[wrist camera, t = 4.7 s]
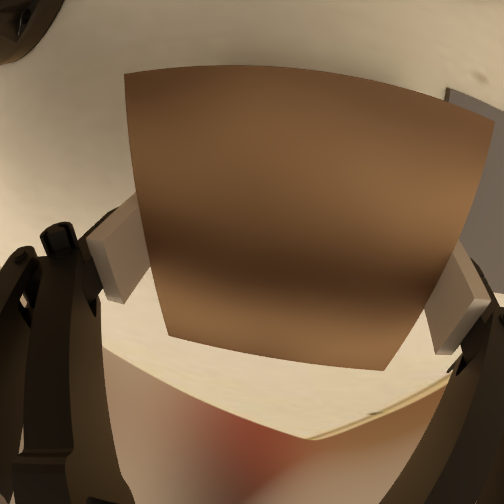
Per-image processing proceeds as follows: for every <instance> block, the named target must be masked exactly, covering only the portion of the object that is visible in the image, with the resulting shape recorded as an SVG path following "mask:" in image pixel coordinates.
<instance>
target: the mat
mask: <svg viewBox="0 0 504 504" xmlns="http://www.w3.org/2000/svg"><path fill="white" fill-rule="evenodd" d="M445 101H446V102H449V103H452V104H454V105H457V106H460V107H462V108H465V109H467V110H470V111H472V112H475V113H477V114H479V115H482V116H484V117H486V118H488V119H490V120H493V121H495V125H494V129H493V134H492V138H491V143H490V147H489V151H488V155H487V158H486V162H485V166H484V169H483V172H482V176H481V179H480V182H479V185H478V188H477V191H476V194H475V197H474V200H473V203H472V206H471V209H470V211H469V214H468V217H467V219H466V222H465V224H464V227H463V229H462V232H461V234H460V236H459V240H460V242H461V244H462V245H463V247H464V249H465V251H466V252H467V254H468V256H469V258H472V259H473V260H474V261H475V262H476V263H477V264H478V266H479V267H480V268H481V270H482V272H483V274H484V277H485V278H486V280H487V281H488V285H490V287H491V289H492V291H493V292H495V293H502V294H504V112H503V111H501V110H499V109H497V108H494V107H492V106H490V105H488V104H486V103H484V102H482V101H479V100H477V99H475V98H473V97H470V96H468V95H465V94H463V93H461V92H458V91H456V90H453V89H450V88H447V89H446V96H445Z"/></svg>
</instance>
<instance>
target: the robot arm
mask: <svg viewBox="0 0 504 504" xmlns="http://www.w3.org/2000/svg"><path fill="white" fill-rule="evenodd" d="M62 1H63V0H0V65H3V64H6V63H10V62H14V61H16V60H18V59H20V58H22V57H23V56H24V55H26V54H27V53H28V52H29V51H30V50H31V49H32V48H33V47H34V46H35V45H36V44H37V42H38V41H39V40H40V39H41V37H42V36H43V35H44V33H45V32H46V30H47V29H48V27H49V25H50V24H51V22H52V21H53V19H54V17H55V15H56V13H57V12H58V10H59V8H60V6H61V4H62ZM40 239H41V242H42V244H43V247H44V249H45V252H46V254H47V256H40V257H38V256H37V254H36V252H35V249H34V248H33V247H32V246H24V247H20V248H18V249H17V250H16V251H15V252H13V253H12V254H11V255H10V257H9V258H8V259H7V261H6V263H5V264H4V266H3V267H2V269H1V270H0V504H10V500H11V497H12V494H13V491H14V497H15V504H135V501H134V498H133V495H132V493H131V490H130V489H129V486H128V485H127V483H126V482H125V480H124V479H123V477H122V475H121V472H120V468H119V464H118V460H117V456H116V451H115V446H114V441H113V435H112V430H111V424H110V418H109V411H108V404H107V397H106V388H105V379H104V368H103V356H102V338H101V302H100V299H99V296H98V294H99V293H100V292H101V290H102V289H104V292H105V294H106V297H107V299H108V300H110V301H114V302H117V303H121V304H124V303H125V302H126V300H127V299H128V297H129V296H130V295H131V293H132V292H133V290H134V289H135V287H136V286H137V284H138V283H139V281H140V280H141V278H142V277H143V276H144V274H145V273H146V271H147V270H148V269H149V267H150V266H151V265H150V260H149V256H148V251H147V246H146V241H145V236H144V231H143V226H142V221H141V215H140V210H139V206H138V200H137V194H136V193H134V194H133V195H132V196H131V197H130V198H129V199H128V200H126V201H125V202H124V203H123V204H122V205H121V206H120V207H117V208H115V209H113V210H111V211H110V212H108V213H107V214H105V215H104V216H103V217H102V218H101V219H100V221H98V222H97V223H96V224H95V225H94V226H92V227H91V228H90V229H89V230H88V231H87V232H86V233H85V234H84V235H83V236H82V237H81V238H80V239H79V240H77V237H76V234H75V231H74V228H73V225H72V224H71V223H70V222H59V223H56V224H53V225H51V226H50V227H48V228H46V229H45V230H44V231H43V232H42V233H41V235H40ZM22 294H23V296H24V298H25V299H26V301H27V305H26V307H25V308H24V307H23V305H22V304H21V302H20V298H21V296H22ZM424 310H425V314H426V317H427V321H428V325H429V329H430V333H431V337H432V342H433V346H434V351H435V354H437V355H452V354H453V353H454V351H455V350H456V349H457V348H458V346H459V345H461V349H462V352H463V353H462V354H461V355H460V356H459V357H458V359H457V360H456V361H455V362H454V363H453V364H452V365H451V367H450V368H449V369H448V370H447V373H449V372H450V371H451V370H452V369H453V372H452V374H451V377H450V379H449V382H448V384H447V387H446V389H445V391H444V394H443V396H442V398H441V400H440V403H439V405H438V407H437V409H436V411H435V413H434V415H433V418H432V419H431V422H430V423H429V426H428V427H427V429H426V431H425V433H424V435H423V437H422V439H421V440H420V442H419V444H418V446H417V448H416V449H415V451H414V453H413V454H412V456H411V458H410V459H409V461H408V462H407V464H406V466H405V467H404V469H403V471H402V472H401V474H400V475H399V477H398V478H397V480H396V481H395V482H394V484H393V485H392V487H391V488H390V490H389V491H388V492H387V494H386V495H385V497H384V498H383V499H382V501H381V502H380V503H379V504H475V503H476V504H504V307H500V306H499V304H498V302H497V300H496V298H495V295H494V293H493V291H492V289H491V287H490V285H488V281H487V280H486V278H485V277H484V274H483V272H482V270H481V268H480V267H479V266H478V264H477V263H476V262H475V261H474V260H473V259H472V258H469V256H468V254H467V252H466V251H465V249H464V247H463V245H462V244H461V242H460V240H459V239H458V241H457V243H456V246H455V248H454V250H453V252H452V254H451V256H450V258H449V260H448V262H447V264H446V266H445V269H444V271H443V273H442V275H441V277H440V279H439V281H438V283H437V285H436V286H435V288H434V290H433V292H432V294H431V296H430V298H429V299H428V301H427V303H426V305H425V307H424ZM22 428H24V449H23V452H22V453H20V454H18V453H19V447H20V440H21V433H22ZM476 501H477V502H476Z"/></svg>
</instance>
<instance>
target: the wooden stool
mask: <svg viewBox="0 0 504 504" xmlns="http://www.w3.org/2000/svg"><path fill="white" fill-rule="evenodd" d="M124 80H125V98H126V112H127V123H128V133H129V143H130V151H131V159H132V167H133V174H134V181H135V188H136V194H137V200H138V206H139V210H140V215H141V221H142V226H143V231H144V236H145V241H146V246H147V251H148V256H149V260H150V265H151V270H152V275H153V279H154V283H155V287H156V291H157V295H158V299H159V303H160V306H161V310H162V314H163V318H164V321H165V325H166V328H167V332H168V335H169V336H172V337H176V338H180V339H184V340H188V341H192V342H196V343H201V344H205V345H209V346H214V347H218V348H223V349H228V350H233V351H238V352H243V353H248V354H253V355H259V356H265V357H270V358H276V359H283V360H289V361H296V362H303V363H310V364H318V365H326V366H335V367H344V368H354V369H366V370H379V371H384V370H385V368H386V367H387V366H388V364H389V363H390V361H391V360H392V358H393V357H394V356H395V354H396V353H397V351H398V350H399V348H400V347H401V345H402V343H403V342H404V340H405V339H406V337H407V336H408V334H409V333H410V331H411V329H412V328H413V326H414V324H415V323H416V321H417V319H418V318H419V316H420V314H421V313H422V311H423V309H424V307H425V305H426V303H427V301H428V299H429V298H430V296H431V294H432V292H433V290H434V288H435V286H436V285H437V283H438V281H439V279H440V277H441V275H442V273H443V271H444V269H445V266H446V264H447V262H448V260H449V258H450V256H451V254H452V252H453V250H454V248H455V246H456V243H457V241H458V239H459V236H460V234H461V232H462V229H463V227H464V224H465V222H466V219H467V217H468V214H469V211H470V209H471V206H472V203H473V200H474V197H475V194H476V191H477V188H478V185H479V182H480V179H481V176H482V172H483V169H484V166H485V162H486V158H487V155H488V151H489V147H490V143H491V138H492V134H493V129H494V125H495V121H493V120H490V119H488V118H486V117H484V116H482V115H479V114H477V113H475V112H472V111H470V110H467V109H465V108H462V107H460V106H457V105H454V104H452V103H449V102H446V101H443V100H441V99H438V98H435V97H432V96H429V95H425V94H422V93H419V92H416V91H412V90H409V89H405V88H401V87H398V86H394V85H390V84H386V83H382V82H377V81H373V80H368V79H363V78H358V77H353V76H348V75H342V74H336V73H329V72H322V71H315V70H306V69H297V68H286V67H271V66H247V65H216V66H192V67H178V68H167V69H158V70H149V71H142V72H135V73H129V74H124Z"/></svg>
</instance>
